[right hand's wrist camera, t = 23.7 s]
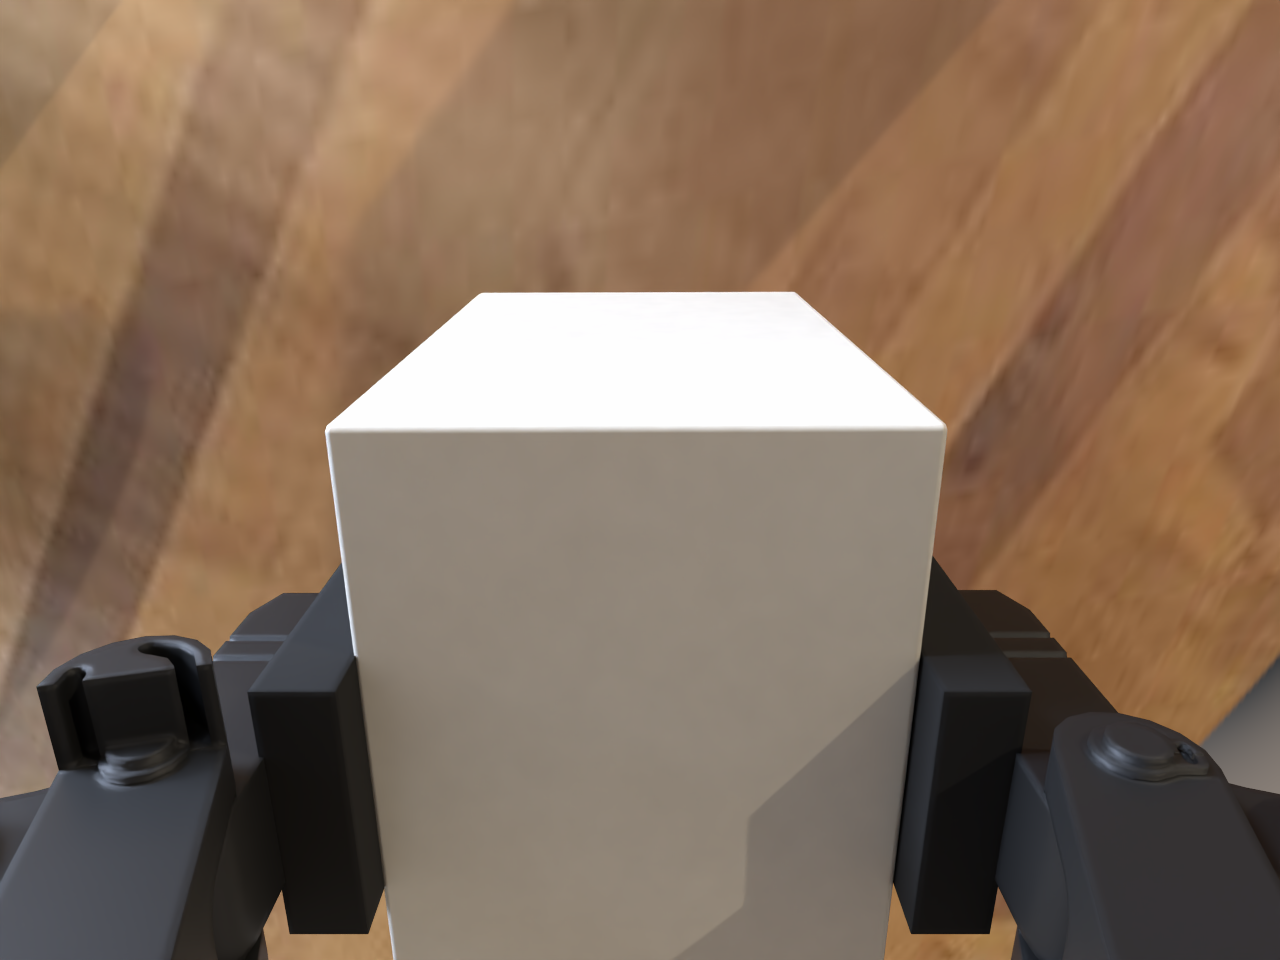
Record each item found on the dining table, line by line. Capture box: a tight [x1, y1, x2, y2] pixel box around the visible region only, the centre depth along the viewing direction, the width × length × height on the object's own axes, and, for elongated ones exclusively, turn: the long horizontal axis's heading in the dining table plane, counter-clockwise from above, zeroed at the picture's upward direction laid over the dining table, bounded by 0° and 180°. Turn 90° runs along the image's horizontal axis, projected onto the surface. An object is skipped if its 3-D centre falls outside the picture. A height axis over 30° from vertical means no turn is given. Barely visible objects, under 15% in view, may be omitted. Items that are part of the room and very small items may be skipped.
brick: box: [325, 292, 947, 960], centre depth 12 cm, size 7×5×8 cm
